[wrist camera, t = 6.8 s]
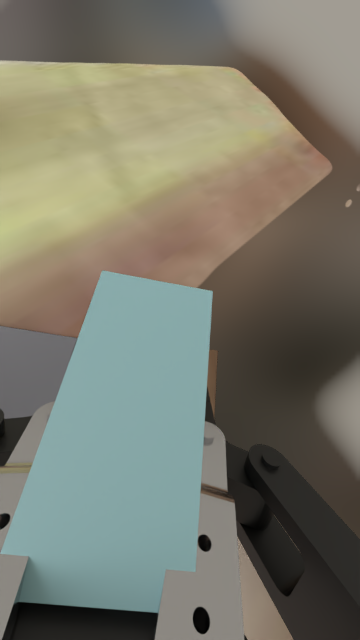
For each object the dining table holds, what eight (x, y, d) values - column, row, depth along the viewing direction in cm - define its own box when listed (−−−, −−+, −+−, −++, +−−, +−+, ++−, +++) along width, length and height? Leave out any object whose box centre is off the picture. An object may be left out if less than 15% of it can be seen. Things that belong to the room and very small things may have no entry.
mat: (-67, 422, 21) (-71, 422, 21) (-14, 325, 26) (-16, 323, 25) (44, 437, 22) (43, 437, 22) (78, 339, 26) (77, 338, 26)
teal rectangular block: (105, 476, 15) (-16, 598, 3) (127, 382, 18) (102, 270, 6) (152, 482, 15) (192, 615, 3) (166, 388, 18) (212, 291, 6)
